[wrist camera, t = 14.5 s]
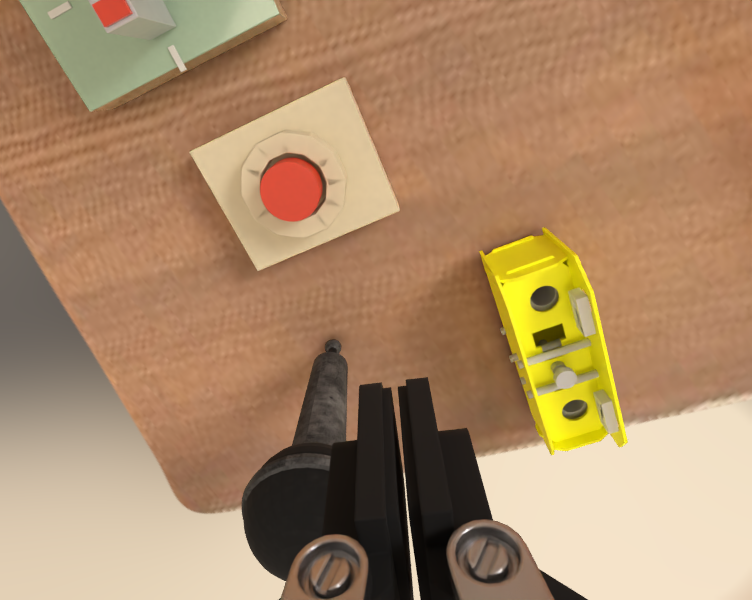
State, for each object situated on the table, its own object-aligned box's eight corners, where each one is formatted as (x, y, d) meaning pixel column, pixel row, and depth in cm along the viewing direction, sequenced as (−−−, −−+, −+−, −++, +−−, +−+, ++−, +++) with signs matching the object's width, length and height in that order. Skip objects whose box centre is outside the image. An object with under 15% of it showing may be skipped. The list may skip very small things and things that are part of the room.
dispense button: (306, 147, 30) (303, 151, 28) (332, 201, 31) (329, 208, 30) (255, 171, 30) (248, 177, 29) (282, 223, 32) (277, 230, 30)
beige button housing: (345, 76, 31) (342, 76, 28) (398, 203, 35) (401, 217, 31) (199, 147, 33) (178, 156, 30) (263, 261, 37) (251, 281, 33)
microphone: (274, 331, 39) (190, 552, 21) (345, 290, 38) (322, 489, 20) (322, 391, 42) (285, 635, 23) (391, 354, 40) (408, 585, 22)
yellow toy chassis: (590, 390, 42) (638, 459, 34) (525, 410, 43) (559, 482, 35) (547, 221, 36) (595, 260, 28) (472, 249, 36) (500, 294, 29)
